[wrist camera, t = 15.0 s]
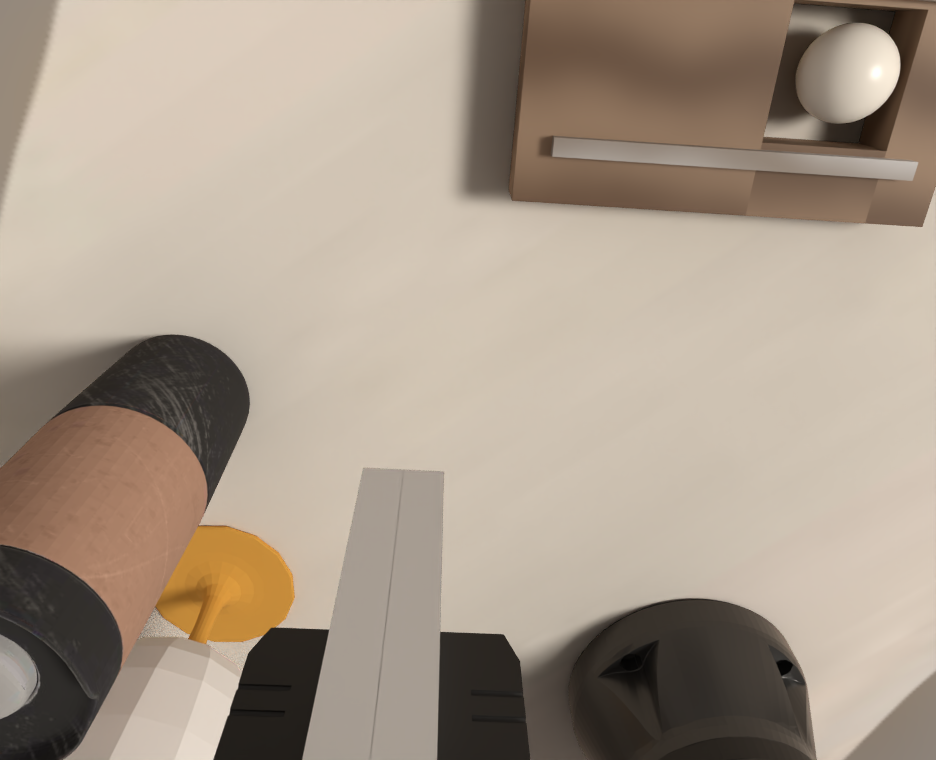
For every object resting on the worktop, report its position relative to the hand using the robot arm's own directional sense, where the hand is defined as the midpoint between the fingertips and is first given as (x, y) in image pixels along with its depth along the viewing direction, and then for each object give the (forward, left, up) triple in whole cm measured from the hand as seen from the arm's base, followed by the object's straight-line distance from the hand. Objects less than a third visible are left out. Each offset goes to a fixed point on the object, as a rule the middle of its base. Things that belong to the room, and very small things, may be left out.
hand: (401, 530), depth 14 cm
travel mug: (-10, +13, -25) cm, 30 cm away
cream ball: (+8, -17, -22) cm, 30 cm away
